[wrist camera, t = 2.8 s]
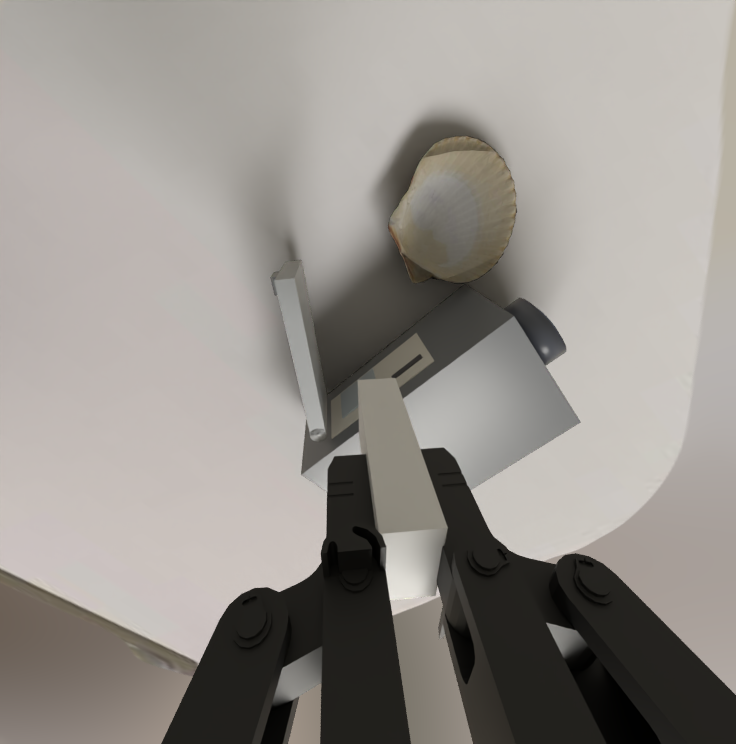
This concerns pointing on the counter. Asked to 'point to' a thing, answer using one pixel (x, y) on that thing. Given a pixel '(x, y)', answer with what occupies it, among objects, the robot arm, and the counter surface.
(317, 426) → the side door
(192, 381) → the counter surface
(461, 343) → the camera body
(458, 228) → the seashell
